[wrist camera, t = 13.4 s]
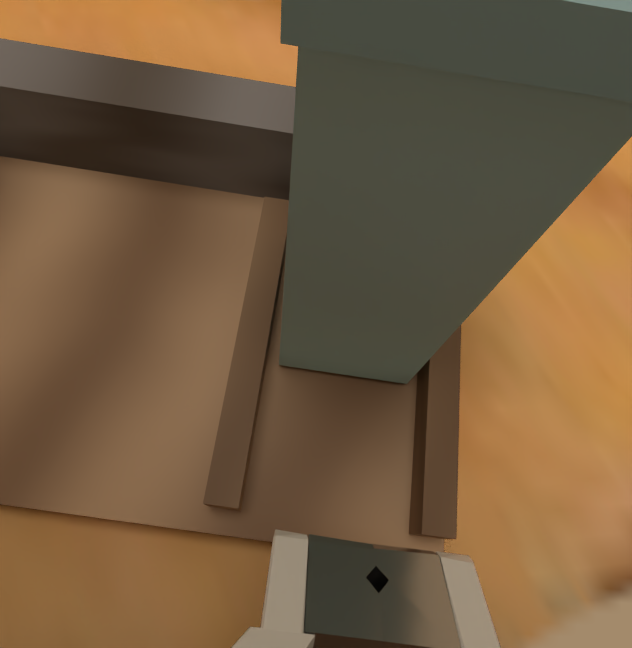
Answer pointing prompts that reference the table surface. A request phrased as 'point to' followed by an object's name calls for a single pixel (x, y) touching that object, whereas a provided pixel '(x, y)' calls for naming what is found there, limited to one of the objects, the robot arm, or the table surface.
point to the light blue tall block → (434, 161)
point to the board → (185, 321)
